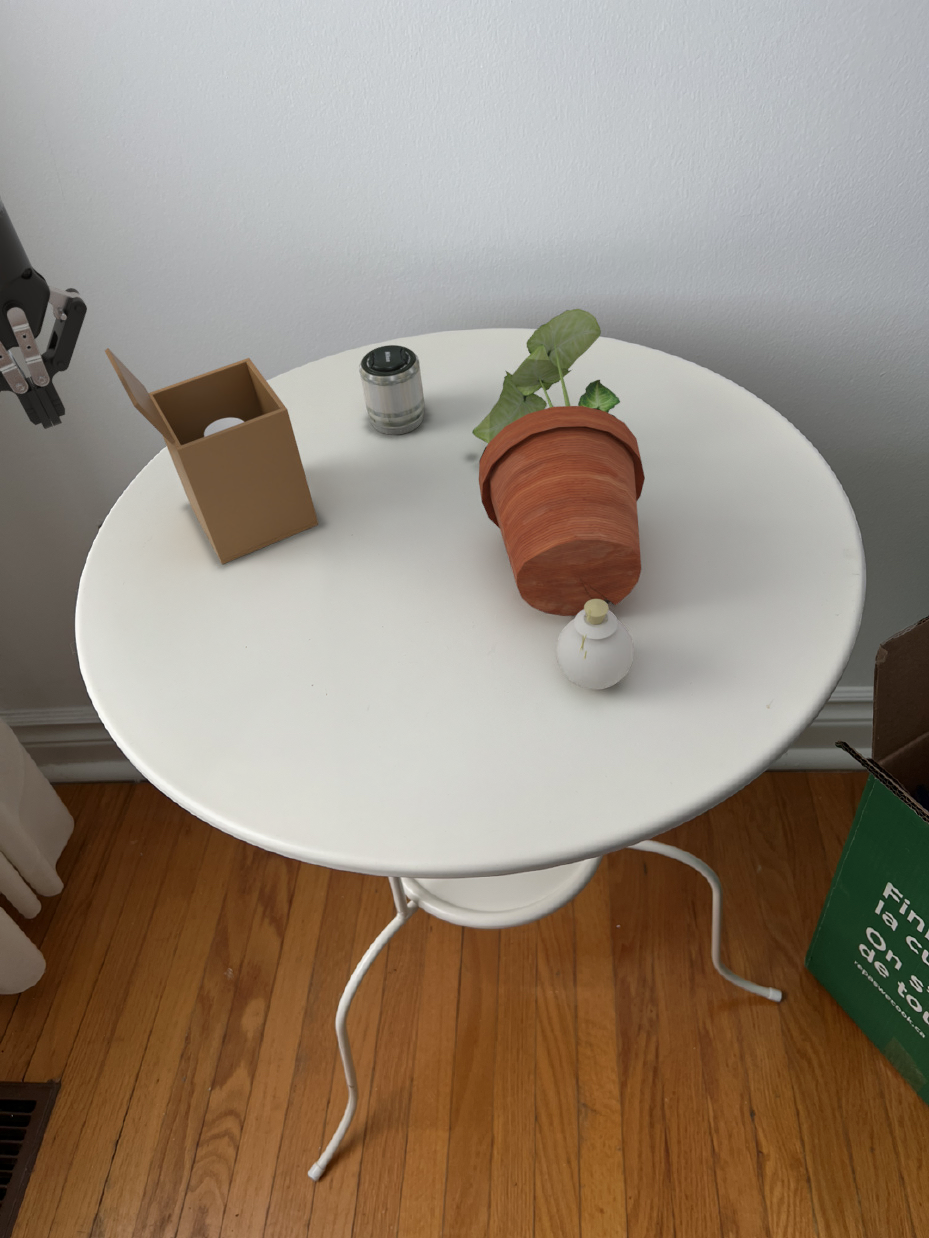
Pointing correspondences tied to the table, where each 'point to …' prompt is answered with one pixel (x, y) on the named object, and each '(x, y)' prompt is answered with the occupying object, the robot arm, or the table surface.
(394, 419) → the camera lens
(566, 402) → the potted plant
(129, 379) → the flap
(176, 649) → the table surface
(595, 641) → the white potion bottle
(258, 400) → the carton
